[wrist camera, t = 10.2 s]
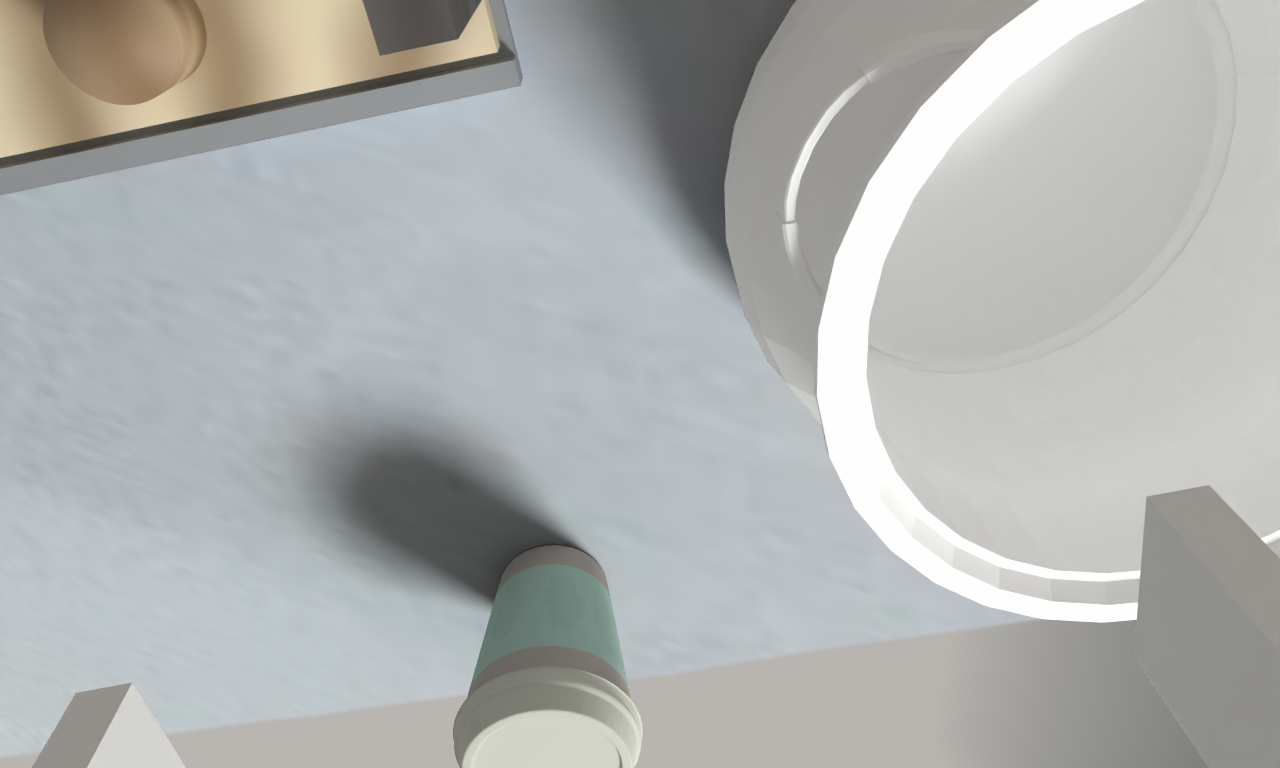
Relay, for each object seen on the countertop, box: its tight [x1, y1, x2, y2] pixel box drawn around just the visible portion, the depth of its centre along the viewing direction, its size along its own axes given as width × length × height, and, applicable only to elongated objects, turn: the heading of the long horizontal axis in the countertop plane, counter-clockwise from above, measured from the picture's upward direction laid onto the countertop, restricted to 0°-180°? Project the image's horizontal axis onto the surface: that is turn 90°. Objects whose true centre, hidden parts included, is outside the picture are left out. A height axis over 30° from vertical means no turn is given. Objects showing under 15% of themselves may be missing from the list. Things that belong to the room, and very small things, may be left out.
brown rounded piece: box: [43, 0, 207, 105], centre depth 35 cm, size 4×4×3 cm
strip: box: [0, 0, 500, 158], centre depth 33 cm, size 21×7×10 cm, turn 101°
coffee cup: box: [453, 545, 643, 768], centre depth 48 cm, size 8×9×12 cm
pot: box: [724, 0, 1280, 622], centre depth 35 cm, size 26×24×17 cm
